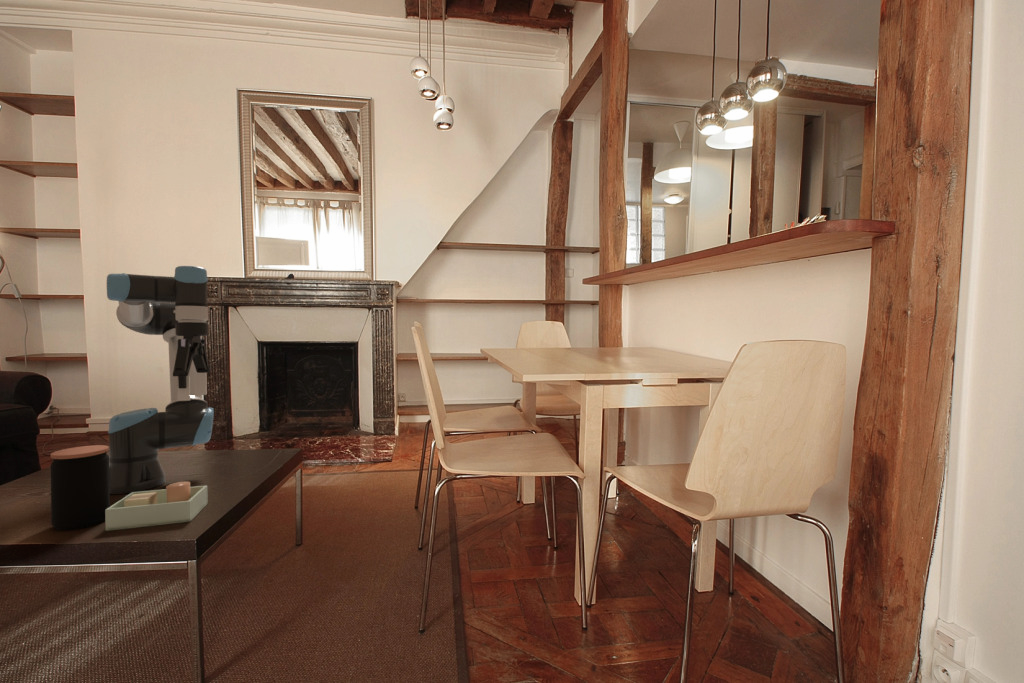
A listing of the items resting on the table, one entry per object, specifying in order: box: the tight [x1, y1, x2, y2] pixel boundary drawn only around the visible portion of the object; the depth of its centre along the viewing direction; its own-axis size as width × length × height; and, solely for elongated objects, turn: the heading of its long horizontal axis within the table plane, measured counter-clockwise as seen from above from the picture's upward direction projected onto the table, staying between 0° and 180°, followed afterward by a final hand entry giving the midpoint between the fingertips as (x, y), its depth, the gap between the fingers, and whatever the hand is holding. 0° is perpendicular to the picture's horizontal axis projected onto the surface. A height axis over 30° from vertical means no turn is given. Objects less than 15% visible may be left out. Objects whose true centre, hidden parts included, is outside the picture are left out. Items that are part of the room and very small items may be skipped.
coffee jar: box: [50, 444, 111, 531], centre depth 115 cm, size 11×11×18 cm
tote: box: [104, 485, 209, 532], centre depth 118 cm, size 13×17×5 cm
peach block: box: [165, 481, 191, 503], centre depth 120 cm, size 5×5×7 cm
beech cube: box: [124, 492, 157, 507], centre depth 117 cm, size 5×5×5 cm
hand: (193, 397), depth 130 cm, fingers open, 13 cm apart
